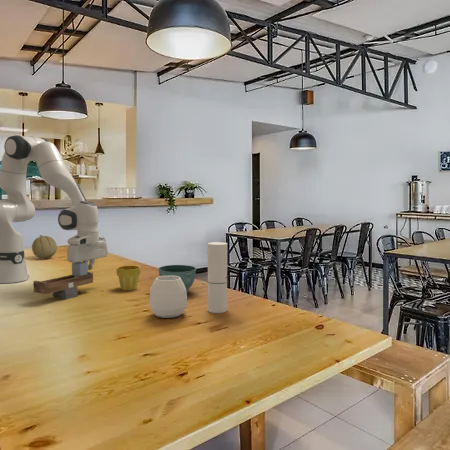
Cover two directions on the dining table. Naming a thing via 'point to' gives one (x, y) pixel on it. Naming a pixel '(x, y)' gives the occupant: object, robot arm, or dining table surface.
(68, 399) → the dining table surface
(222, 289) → the cylindrical container
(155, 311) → the white vase
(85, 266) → the block
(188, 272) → the flower pot
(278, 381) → the dining table surface
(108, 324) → the dining table surface
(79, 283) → the beam
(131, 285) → the plant pot
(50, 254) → the cantaloupe
